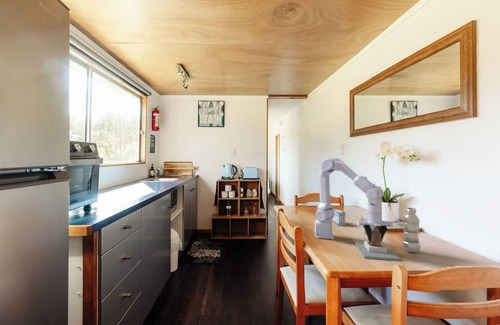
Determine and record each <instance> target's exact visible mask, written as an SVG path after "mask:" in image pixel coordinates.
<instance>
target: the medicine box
mask: <svg viewBox="0 0 500 325" xmlns="http://www.w3.org/2000/svg"><path fill="white" fill-rule="evenodd" d="M333 210H334V213H335V215H334V217H333V218H332V223H334V224H335V225H337V226H339V227H343V226H346V212H344V211H343V210H341V209H333Z"/></svg>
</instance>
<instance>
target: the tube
mask: <svg viewBox="0 0 500 325" xmlns="http://www.w3.org/2000/svg"><path fill="white" fill-rule="evenodd" d="M370 227H371V229H372V230H374V231H375V228H376V227H377V226H370ZM363 234H365V235H366V236H367V234H366V231H365V229H364V228H363Z"/></svg>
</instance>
